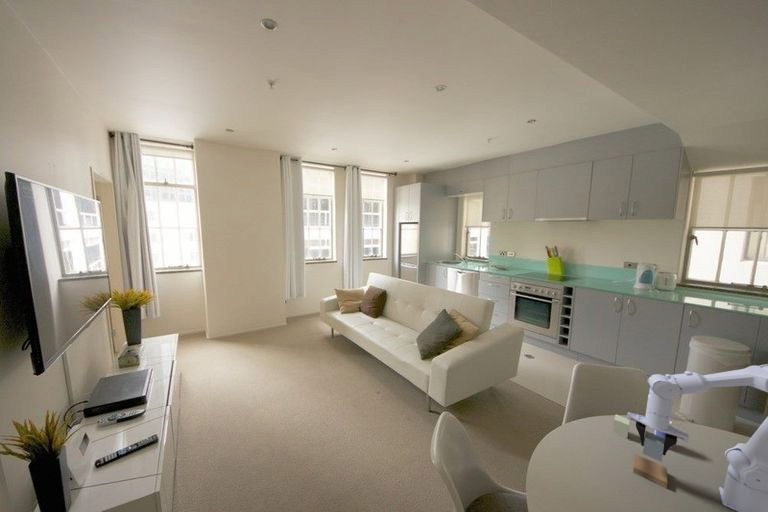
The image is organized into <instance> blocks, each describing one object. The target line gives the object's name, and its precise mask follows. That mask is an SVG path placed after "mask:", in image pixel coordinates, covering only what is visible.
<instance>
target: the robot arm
mask: <svg viewBox="0 0 768 512" xmlns="http://www.w3.org/2000/svg"><path fill="white" fill-rule="evenodd" d="M646 381H647V383H648V385H649V392H648V396H647V404H646V410H645V415H641V414H636V413H633V412H630V411H628V412H627V414H626V415H627V417H626V418H627V419H628V420H630V421H633V422H635V428H636V431H637V432H638V435H639V439H640V446H641V447H643V446H644V440H645V432H646V428H647V427H648V428H650V429H652V430H653V431H654V430H657V431H660V432H663V433H665V441H664V449H663V456H666V455H667V452H668V450H669V449H671V448H670V447H671V446H672V447H673V446H674V445H676V444H677V443H678V439H680V440H681V441H683V443H684V442H685V443H689V439H690V435H689V434H688V433H686V432H684V431H681V430H679V429H677V428H676V427H674V426H673V425H672V426H670V425H669V424H670V421H671V416H672V412H673V411H672V410H673V400H674V399H676V398H677V397H678V396H681V395H686V394H687V395H689V394H698V393H699V394H700V393H708V391H709V390H710V388H723V387H724V388H725V387H748V386H749V387H752V388H755V389H757V390H760V391H763V392H765V393H768V363H766V364H761V365H750V366H747V367H745V368H741V369H740V368H739V369H735V370H734V369H733V370H728V371H723V372H716V373H710V374H704V375H703V374H700V373H697V372H694V371H693V372H691V370H685V371H684V372H683V373H677V374H676V373H675V374H670V373H666V374H661V373H660V374H659V373H657V374H656V373H655V374H652V375H651V376H649V377H648V378H647V379H646ZM724 458H725V459H726V461H727V462H728V463H729V464H728V467H727V470H726V475H725V480H724V486H723V487H721V486H718V487H719V488H718V490H719V494H720V498H721V503H722V505H723V506H724V507H728V508H729V509H732V510H734V511H736V512H768V416H766V418H765V419H764V421H763V422H761V424H760V425H759V427H758V428H757V430H756V431H755V432H754V433H753V434H752V436H751V437H750V438H749V439H748V441H747V442H746V443H742V442H741V443H737V444H736V445H735V446H734V447H731V448H728V449H727V450H725V452H724Z"/></svg>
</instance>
